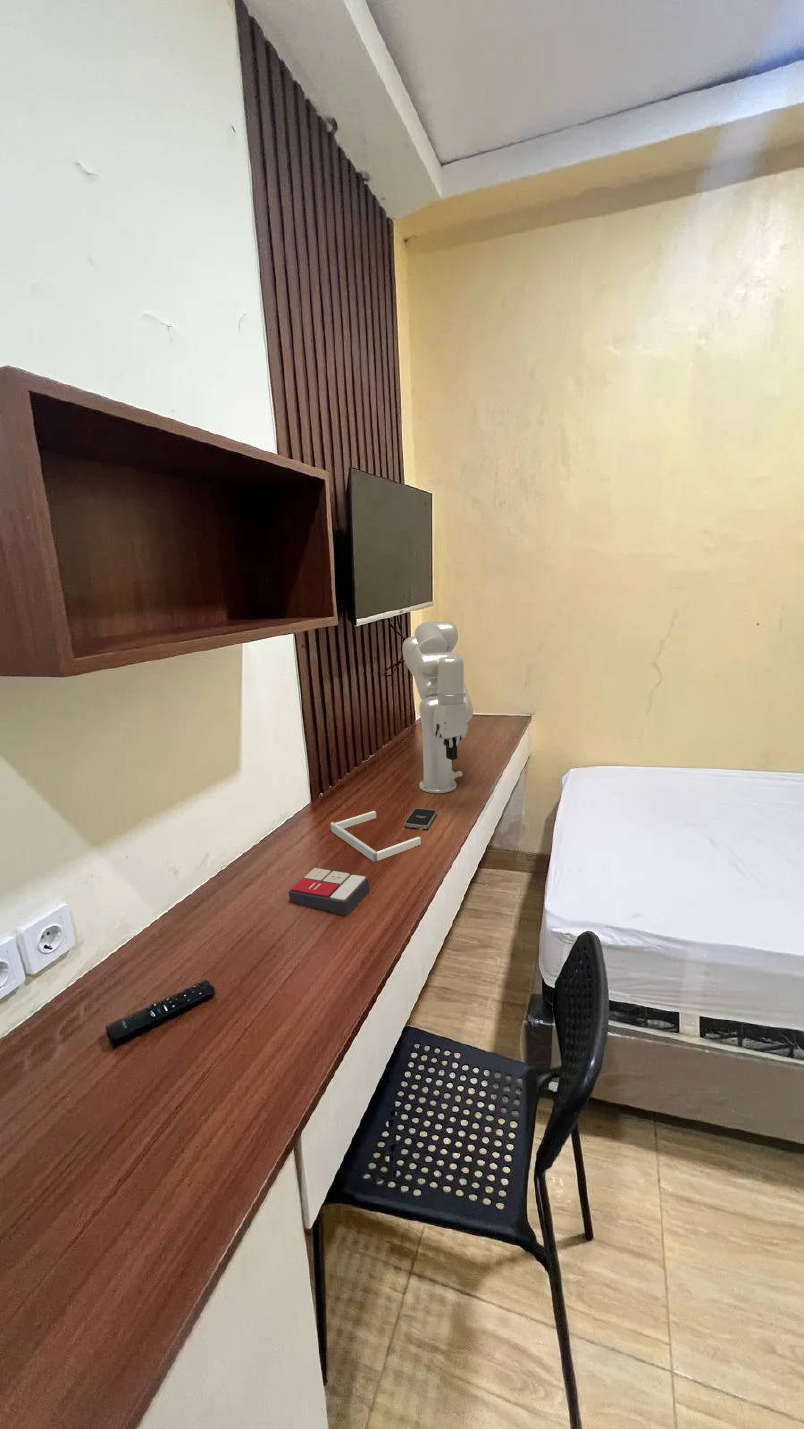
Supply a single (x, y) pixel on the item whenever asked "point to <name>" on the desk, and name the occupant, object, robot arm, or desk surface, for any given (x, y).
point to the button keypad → (330, 891)
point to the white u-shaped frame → (363, 848)
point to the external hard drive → (420, 819)
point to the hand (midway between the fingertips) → (451, 758)
